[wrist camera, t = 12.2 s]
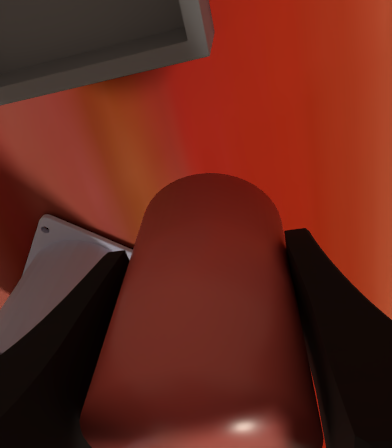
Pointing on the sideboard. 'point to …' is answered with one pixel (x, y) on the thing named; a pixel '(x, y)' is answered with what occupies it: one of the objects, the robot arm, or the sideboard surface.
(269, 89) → the sideboard surface
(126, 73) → the tote
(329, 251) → the sideboard surface
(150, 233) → the capsule
